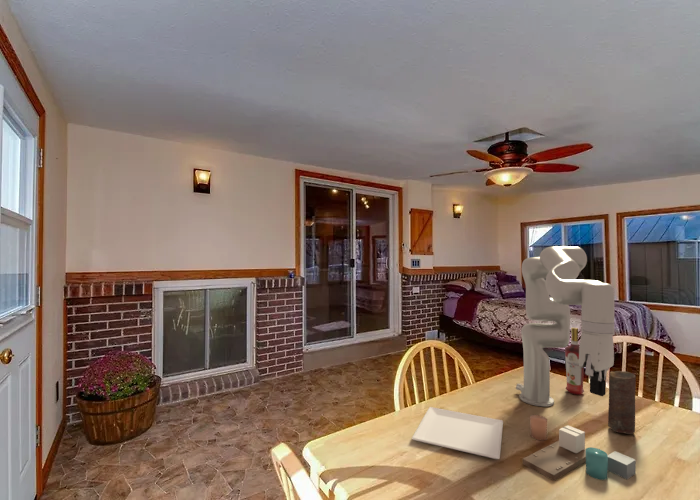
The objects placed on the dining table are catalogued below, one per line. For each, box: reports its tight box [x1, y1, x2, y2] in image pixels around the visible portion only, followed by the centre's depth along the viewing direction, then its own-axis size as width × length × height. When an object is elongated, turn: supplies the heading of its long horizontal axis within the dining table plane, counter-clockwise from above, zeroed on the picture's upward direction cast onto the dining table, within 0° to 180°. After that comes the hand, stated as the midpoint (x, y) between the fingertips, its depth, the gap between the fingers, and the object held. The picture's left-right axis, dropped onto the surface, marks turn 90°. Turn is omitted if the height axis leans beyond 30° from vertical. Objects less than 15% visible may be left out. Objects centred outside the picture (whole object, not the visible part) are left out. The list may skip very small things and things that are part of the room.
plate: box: [411, 406, 504, 460], centre depth 121 cm, size 26×26×2 cm
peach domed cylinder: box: [529, 414, 548, 441], centre depth 119 cm, size 5×5×6 cm
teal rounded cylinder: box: [585, 447, 609, 481], centre depth 99 cm, size 5×5×6 cm
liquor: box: [564, 327, 585, 396], centre depth 156 cm, size 7×7×28 cm
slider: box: [558, 424, 586, 453], centre depth 110 cm, size 5×5×5 cm
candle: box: [607, 370, 637, 435], centre depth 123 cm, size 8×7×20 cm
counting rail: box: [522, 440, 586, 482], centre depth 106 cm, size 9×21×2 cm, turn 122°
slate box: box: [607, 450, 637, 480], centre depth 100 cm, size 5×5×4 cm
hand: (597, 393), depth 99 cm, fingers closed
